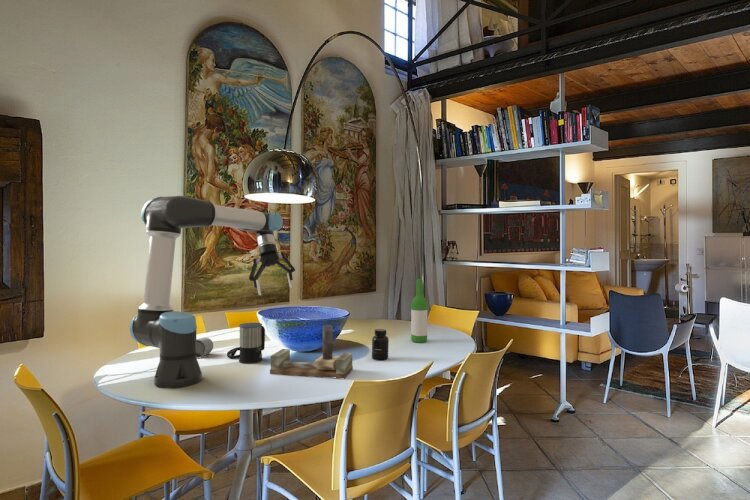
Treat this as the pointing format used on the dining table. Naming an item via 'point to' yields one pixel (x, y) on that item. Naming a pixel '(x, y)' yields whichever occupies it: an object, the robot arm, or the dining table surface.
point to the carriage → (327, 351)
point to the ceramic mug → (203, 347)
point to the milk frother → (250, 343)
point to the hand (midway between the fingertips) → (275, 291)
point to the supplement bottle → (380, 345)
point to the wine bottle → (419, 315)
